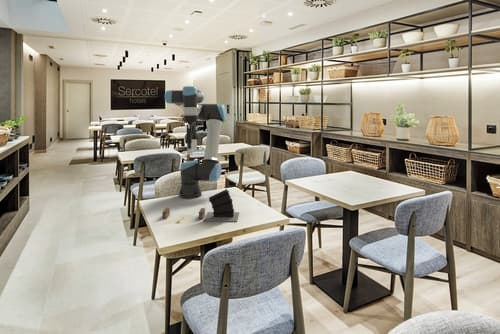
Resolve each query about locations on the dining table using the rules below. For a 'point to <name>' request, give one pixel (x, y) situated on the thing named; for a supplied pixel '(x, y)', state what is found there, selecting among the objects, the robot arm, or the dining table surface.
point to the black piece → (222, 204)
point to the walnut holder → (167, 212)
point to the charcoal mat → (220, 218)
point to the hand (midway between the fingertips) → (192, 152)
